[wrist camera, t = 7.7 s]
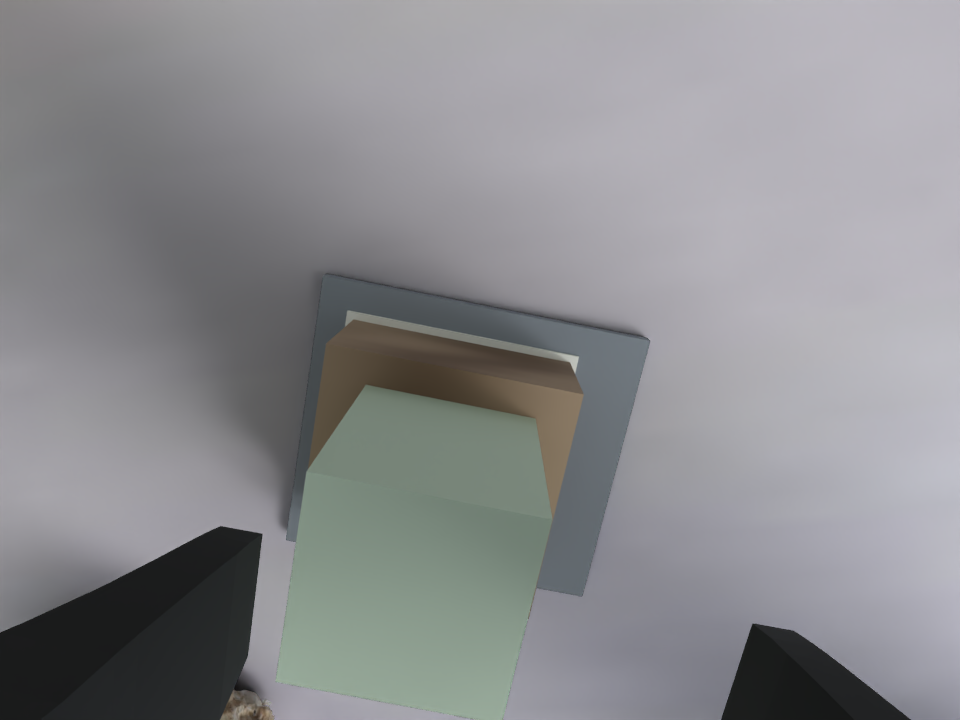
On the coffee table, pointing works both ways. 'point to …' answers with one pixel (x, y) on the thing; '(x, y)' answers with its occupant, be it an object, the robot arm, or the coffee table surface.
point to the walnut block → (451, 385)
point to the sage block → (417, 555)
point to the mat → (591, 351)
